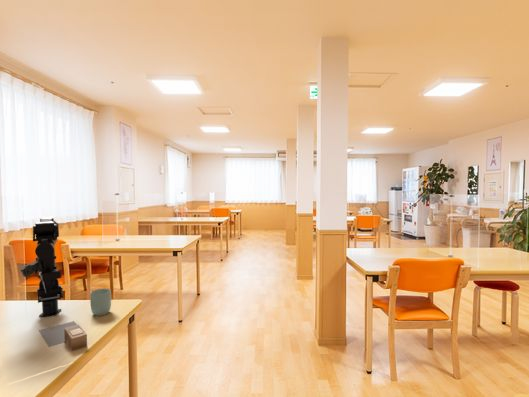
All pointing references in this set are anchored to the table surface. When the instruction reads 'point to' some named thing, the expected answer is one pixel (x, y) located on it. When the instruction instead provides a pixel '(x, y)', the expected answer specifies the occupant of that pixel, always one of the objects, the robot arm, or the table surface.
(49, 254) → the robot arm
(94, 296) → the cup
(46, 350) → the table surface
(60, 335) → the mat
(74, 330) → the block
